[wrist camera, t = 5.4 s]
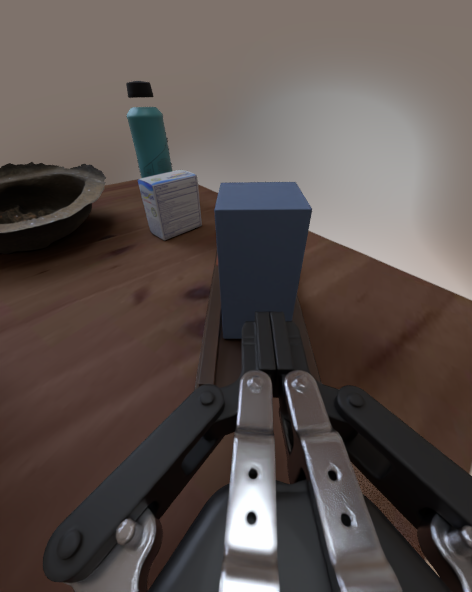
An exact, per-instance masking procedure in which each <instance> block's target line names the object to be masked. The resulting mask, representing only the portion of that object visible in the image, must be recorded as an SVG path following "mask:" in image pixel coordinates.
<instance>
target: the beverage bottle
mask: <svg viewBox="0 0 472 592" xmlns="http://www.w3.org/2000/svg"><path fill="white" fill-rule="evenodd" d="M127 91H128V97H129V98H131V97H132V98H133V97H153V93H152V89H151V85H150V83H149V82H142V81H133V82H129V83H127ZM127 119H128V122H129V126H130V130H131V134H132V138H133V142H134V146H135V150H136V154H137V159H138V163H139V168H140V172H141V176H142V178H146V177H150V176H154V175H159V174H163V173H168V172H172V167H171V162H170V156H169V149H168V145H167V142H168V141H167V138H166V133H165V127H164V122H163V114H162V113H161V112H160V111H159V110H158V109H157V108H156V107H134V108H131V109H130V111H129V112H128V114H127Z"/></svg>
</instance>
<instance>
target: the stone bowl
mask: <svg viewBox="0 0 472 592" xmlns="http://www.w3.org/2000/svg"><path fill="white" fill-rule="evenodd" d="M105 179H106V177H105V176H104V174H103V173H102V171H100V170H98V169H96V168H94V167H93V166H92V165H86V164H82V165H81V166H78V167H73V168H70V169H66V168H64V167H59V166H54V165H44V164H43V163H40V164H34V163H33V162H31V163H29V164H25V165H22V164H20V165H13V164H10V163H9V164H6V165H5V166H2V167H1V168H0V253H3V254H10V253H13V252H15V251H29V250H37V249H42V248H46V247H48V246H49V245H50V244H51V243H52V242H54V241H57V240H59V239H61V238H63V237H65V236H67V235H69V234H70V233H72V232H73V231H74V230H76V229H77V228H78V226H80V225H81V224H82V223H83V221H84V220H85V219H86V218H87V217H88V216H89V214H90V212H91V209H92V202H95V201H96V200H97V199H98V198H99V196H100V195H101V193H102V191H103V190H104V185H105V182H104V180H105Z"/></svg>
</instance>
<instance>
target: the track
mask: <svg viewBox="0 0 472 592" xmlns="http://www.w3.org/2000/svg"><path fill="white" fill-rule="evenodd" d="M292 321H294V323H295V324H296V325H297V326H298V328H299V330H300V334H301V338H302V342H303V346H304V350H305V354H306V359H307V363H308V367H309V370H310V373H311V375H312V376H313V377H314V378H315V379H316V380H317V381H318V382H320V383H321V380H320V376H319V372H318V369H317V365H316V362H315V358H314V354H313V351H312V347H311V343H310V340H309V336H308V333H307V329H306V325H305V322H304V318H303V314H302V311H301V307H300V304H299V300H298V296H297V295H296V301H295V306H294V312H293V317H292ZM241 371H242V339H224V338H223V324H222V309H221V295H220V281H219V267H218V253H217V252H216V258H215V265H214V271H213V277H212V284H211V290H210V296H209V302H208V309H207V315H206V321H205V328H204V334H203V340H202V346H201V353H200V359H199V365H198V372H197V378H196V384H195V390H196V389H197V388H198V387H200V386H201V385H204V384H214V385H216V386H218V387H219V388H221V387H224V386H227V385H230V384H232V383H234V382H235V381H236V380H237V379H238V378H239V377H240V374H241ZM321 384H322V383H321ZM195 390H194V391H195Z"/></svg>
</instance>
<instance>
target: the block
mask: <svg viewBox="0 0 472 592" xmlns="http://www.w3.org/2000/svg"><path fill="white" fill-rule="evenodd" d="M214 211H215V225H216V239H217V253H218V267H219V281H220V295H221V309H222V324H223V338H224V339H242V327H243V325H244V323H245V322H246V321H255V312H284V317H285V321H292V317H293V312H294V306H295V301H296V295H297V290H298V284H299V279H300V273H301V268H302V262H303V257H304V251H305V246H306V240H307V235H308V229H309V224H310V218H311V213H312V208H311V207H310V205H309V203H308V202H307V200H306V198H305V197H304V195H303V194H302V192H301V190H300V189H299V187H298V185H297V184H296V183H295V182H257V183H256V182H250V183H221V185H220V189H219V193H218V197H217V202H216V206H215V210H214Z"/></svg>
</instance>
